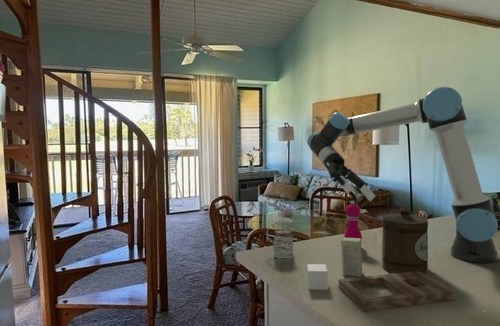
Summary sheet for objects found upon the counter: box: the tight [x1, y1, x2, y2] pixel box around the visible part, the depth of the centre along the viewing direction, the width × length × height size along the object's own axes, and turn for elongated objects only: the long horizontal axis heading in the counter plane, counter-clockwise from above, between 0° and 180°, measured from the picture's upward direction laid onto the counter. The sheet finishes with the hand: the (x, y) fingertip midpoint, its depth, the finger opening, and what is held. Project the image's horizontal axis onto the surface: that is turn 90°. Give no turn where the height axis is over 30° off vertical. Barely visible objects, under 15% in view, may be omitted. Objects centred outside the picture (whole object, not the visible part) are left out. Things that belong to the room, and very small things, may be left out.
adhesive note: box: [306, 263, 329, 291], centre depth 113 cm, size 6×6×6 cm
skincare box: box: [340, 237, 363, 277], centre depth 121 cm, size 6×4×12 cm
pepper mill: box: [343, 200, 363, 240], centre depth 150 cm, size 7×7×20 cm
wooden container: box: [381, 206, 429, 275], centre depth 124 cm, size 15×15×22 cm
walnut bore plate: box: [338, 271, 456, 312], centre depth 105 cm, size 28×16×2 cm, turn 100°
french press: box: [265, 193, 296, 259], centre depth 143 cm, size 10×12×25 cm
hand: (361, 194), depth 126 cm, fingers open, 13 cm apart
